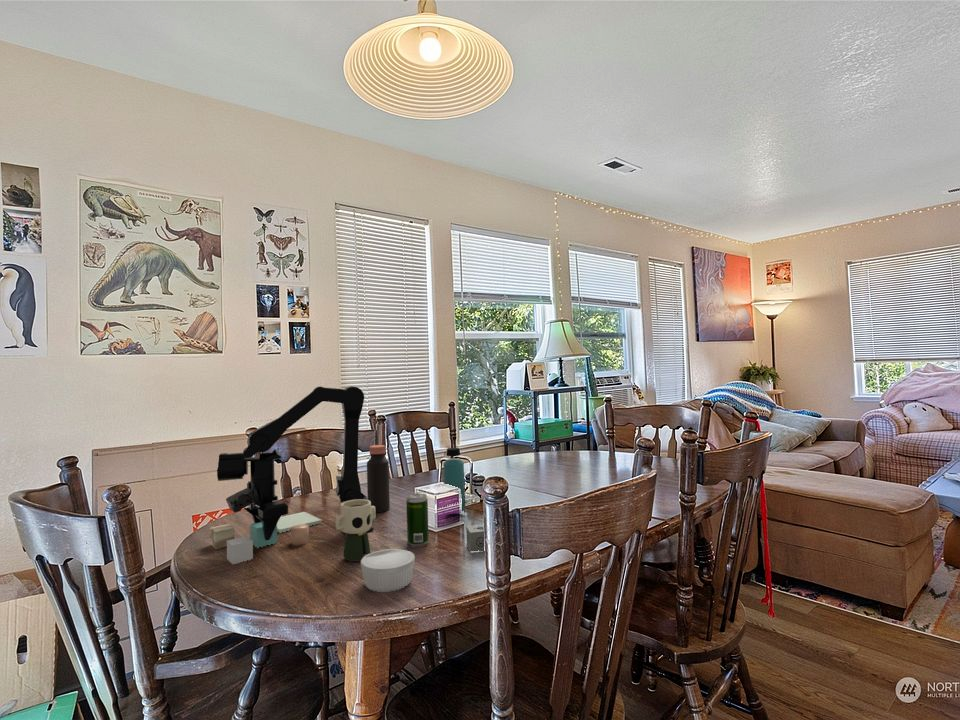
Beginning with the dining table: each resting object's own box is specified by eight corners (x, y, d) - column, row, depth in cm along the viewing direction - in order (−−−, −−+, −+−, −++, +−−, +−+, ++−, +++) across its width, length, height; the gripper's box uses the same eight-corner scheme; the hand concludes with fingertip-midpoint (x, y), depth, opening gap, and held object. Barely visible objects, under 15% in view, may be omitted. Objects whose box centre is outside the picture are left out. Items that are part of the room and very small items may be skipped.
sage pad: (321, 523, 147) (321, 519, 147) (280, 533, 139) (279, 529, 139) (304, 514, 156) (304, 511, 156) (264, 523, 148) (264, 520, 148)
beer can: (430, 545, 127) (429, 497, 127) (409, 548, 125) (408, 499, 125) (425, 538, 132) (424, 492, 132) (405, 541, 130) (404, 494, 130)
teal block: (277, 543, 131) (276, 524, 131) (257, 548, 128) (256, 528, 128) (270, 538, 135) (269, 519, 135) (250, 543, 131) (250, 524, 131)
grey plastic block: (252, 559, 120) (252, 540, 120) (232, 564, 117) (232, 545, 117) (246, 554, 124) (246, 536, 124) (226, 559, 121) (226, 540, 121)
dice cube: (491, 551, 122) (490, 530, 122) (470, 553, 121) (470, 532, 121) (486, 544, 127) (485, 524, 127) (466, 546, 125) (466, 526, 126)
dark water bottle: (365, 508, 161) (364, 445, 161) (386, 505, 164) (385, 443, 164) (370, 513, 155) (369, 448, 155) (392, 510, 158) (390, 446, 158)
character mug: (345, 569, 113) (344, 511, 113) (328, 561, 117) (327, 505, 118) (385, 555, 121) (383, 500, 121) (367, 548, 126) (366, 495, 126)
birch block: (234, 545, 131) (234, 527, 131) (215, 549, 128) (215, 531, 128) (229, 540, 134) (229, 523, 134) (210, 545, 131) (210, 527, 131)
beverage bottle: (456, 519, 147) (454, 450, 148) (439, 515, 151) (437, 448, 152) (470, 513, 153) (468, 447, 153) (453, 510, 157) (452, 445, 157)
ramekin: (394, 568, 113) (393, 544, 113) (426, 582, 105) (426, 556, 105) (350, 584, 105) (349, 559, 105) (382, 601, 97) (381, 573, 97)
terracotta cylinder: (311, 542, 131) (311, 526, 131) (294, 546, 128) (294, 530, 128) (304, 538, 134) (304, 523, 134) (288, 542, 131) (287, 527, 132)
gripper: (218, 476, 133) (219, 536, 133) (241, 488, 119) (242, 555, 119) (262, 470, 140) (263, 526, 140) (288, 480, 126) (289, 543, 126)
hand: (263, 537), depth 131 cm, fingers closed on teal block, 5 cm apart
